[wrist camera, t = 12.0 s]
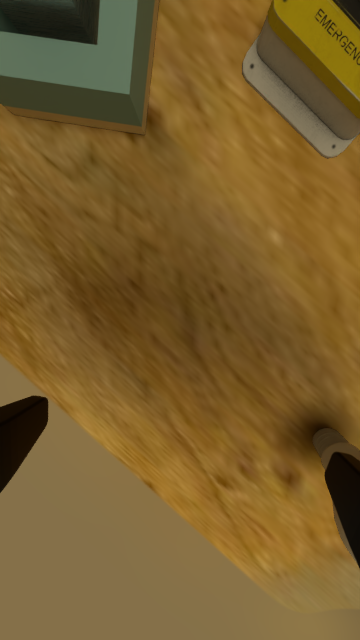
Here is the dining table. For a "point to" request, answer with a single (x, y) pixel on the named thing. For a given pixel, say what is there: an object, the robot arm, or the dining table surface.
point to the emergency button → (311, 69)
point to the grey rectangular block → (55, 18)
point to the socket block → (84, 70)
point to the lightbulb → (325, 445)
